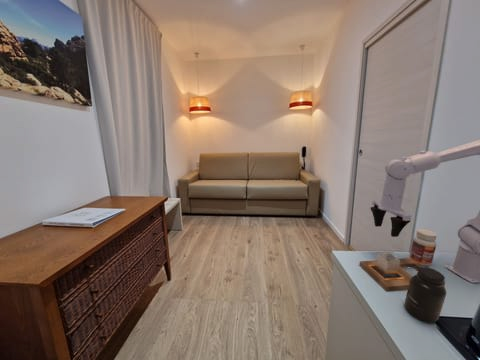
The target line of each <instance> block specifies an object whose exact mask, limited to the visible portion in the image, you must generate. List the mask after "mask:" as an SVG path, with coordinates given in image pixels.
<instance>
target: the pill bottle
mask: <svg viewBox="0 0 480 360" xmlns="http://www.w3.org/2000/svg"><path fill="white" fill-rule="evenodd" d="M416 230H417V231H416V235H415V236H414V237H413V239H412V244H411V249H410V251H409V252H410V253H409V258H411V259H412V260H414V261H415V262H417V263H418V264H420V265H421V266H423V267H429V266H431V265H432V264H433V259H434V257H435V256H434V255H435V252H436V248H437V244H438V243H437V242H436V239H437V236H438V235H437V233H436V232H435V231H432V230H430V229H425V228H418V229H416Z"/></svg>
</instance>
